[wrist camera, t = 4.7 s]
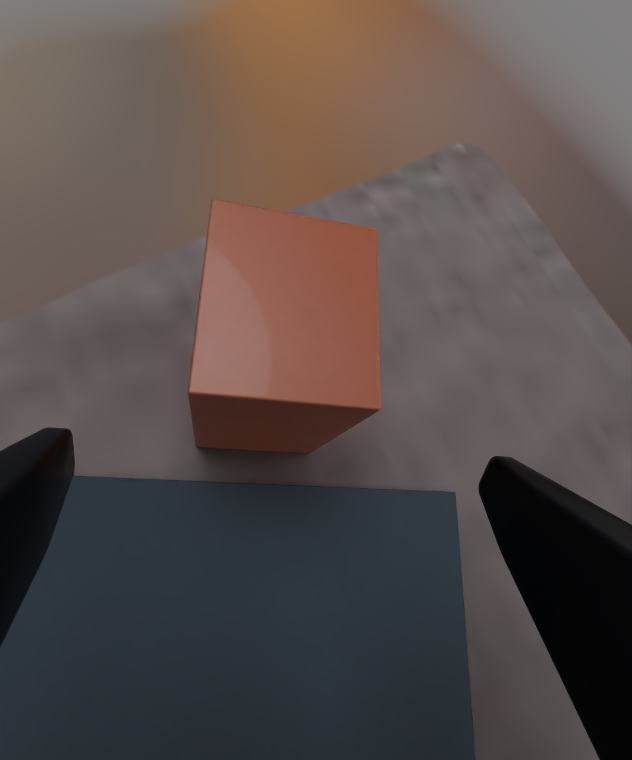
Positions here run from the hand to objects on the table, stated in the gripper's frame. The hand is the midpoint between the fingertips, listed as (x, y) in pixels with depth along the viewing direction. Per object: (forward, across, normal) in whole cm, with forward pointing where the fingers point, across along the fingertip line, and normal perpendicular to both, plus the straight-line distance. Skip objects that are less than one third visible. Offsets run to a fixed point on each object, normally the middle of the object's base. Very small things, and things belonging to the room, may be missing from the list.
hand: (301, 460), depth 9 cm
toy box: (+11, 0, +4) cm, 12 cm away
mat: (+4, 0, +11) cm, 12 cm away
